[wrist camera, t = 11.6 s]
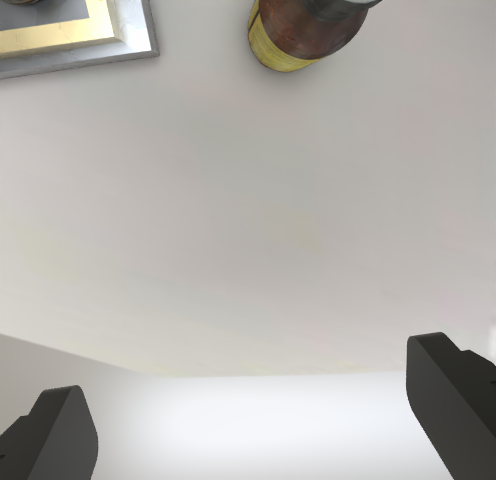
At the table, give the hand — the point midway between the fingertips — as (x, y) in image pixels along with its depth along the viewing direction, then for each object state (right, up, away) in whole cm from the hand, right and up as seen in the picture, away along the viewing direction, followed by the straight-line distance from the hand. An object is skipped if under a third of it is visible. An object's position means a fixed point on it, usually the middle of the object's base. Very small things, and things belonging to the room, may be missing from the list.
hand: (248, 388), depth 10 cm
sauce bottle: (+3, +21, +24) cm, 32 cm away
